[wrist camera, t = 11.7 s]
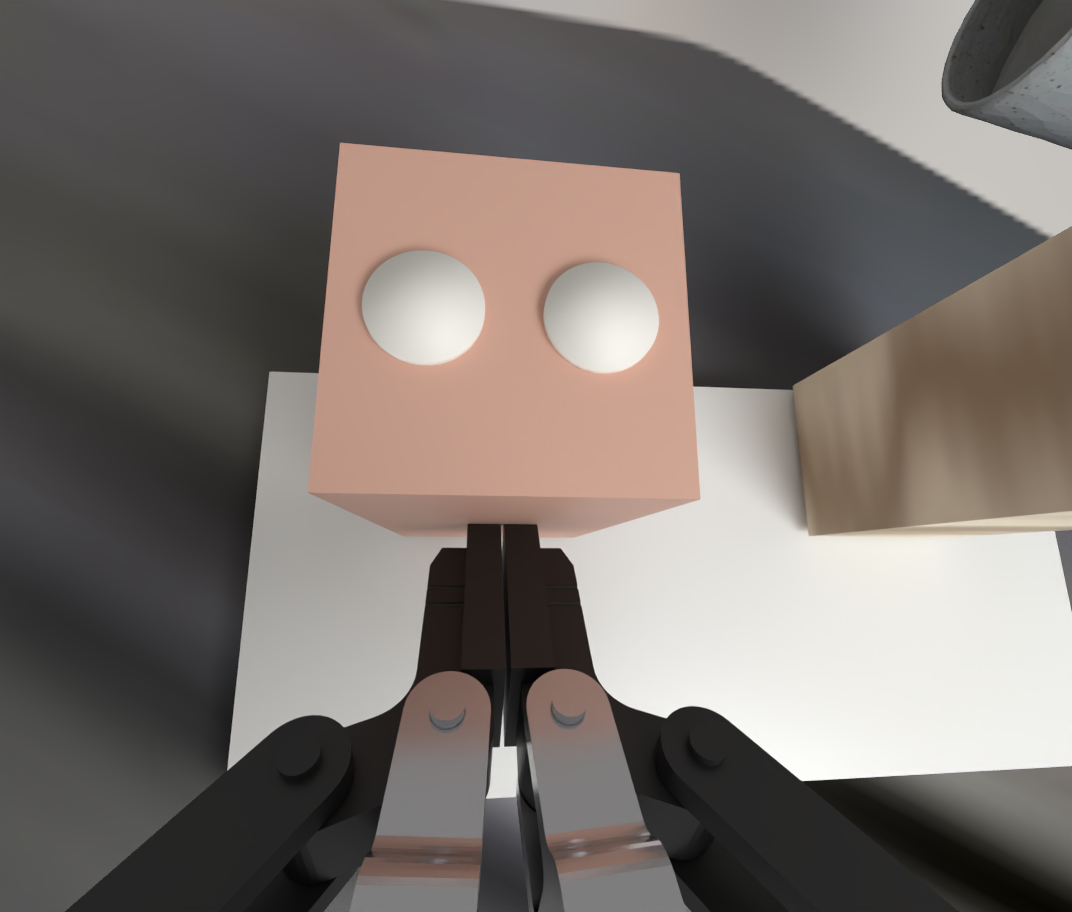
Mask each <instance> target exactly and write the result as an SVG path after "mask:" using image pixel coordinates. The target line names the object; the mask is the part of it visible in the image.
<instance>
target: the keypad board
mask: <svg viewBox="0 0 1072 912" xmlns="http://www.w3.org/2000/svg"><path fill="white" fill-rule="evenodd" d="M318 375H319V373H296V372H269V381H268V390H267V400H266V409H265V419H264V428H263V438H262V447H261V456H260V466H259V475H258V485H257V494H256V504H255V513H254V522H253V532H252V541H251V551H250V560H249V570H248V579H247V588H246V598H245V607H244V617H243V626H242V636H241V645H240V654H239V664H238V673H237V683H236V692H235V702H234V711H233V720H232V730H231V739H230V749H229V758H228V768H227V771H228V770H229V769H230V768H231V767H232V766H233V765H235V764H236V763H237V762H238V761H239V760H240V759H241V758H243V757H244V756H245V755H246V754H247V753H248V752H249V751H251V750H252V749H253V748H254V747H255V746H256V745H258V744H259V743H260V742H261V741H262V740H263V739H264V738H266V737H267V736H268V735H269V734H270V733H271V732H273V731H274V730H275V729H277V728H278V727H280V726H281V725H283V724H285V723H286V722H289V721H291V720H293V719H296V718H299V717H303V716H309V715H321V716H326V717H329V718H332V719H334V720H336V721H337V722H339V723H340V724H341V725H342V726H343V727H347V726H350V725H353V724H355V723H358V722H361V721H364V720H367V719H370V718H373V717H375V716H378V715H380V714H383V713H384V712H386V711H388V710H390V709H391V708H392V707H394V706H395V705H396V704H398V703H399V702H400V701H401V700H402V699H403V698H404V697H405V695H406V694H407V693H408V691H409V690H410V688H411V686H412V685H413V682H414V680H415V677H416V672H417V665H418V657H419V649H420V641H421V633H422V625H423V617H424V609H425V601H426V593H427V585H428V577H429V569H430V564H431V563H432V562H433V560H434V559H435V557H436V556H437V554H438V553H439V551H440V550H441V549H442V548H467V537H425V536H401V535H399V534H397V533H395V532H393V531H390V530H388V529H386V528H384V527H382V526H379V525H377V524H375V523H373V522H371V521H369V520H366V519H364V518H362V517H360V516H358V515H355V514H353V513H351V512H349V511H347V510H344V509H342V508H340V507H338V506H336V505H333V504H331V503H329V502H327V501H325V500H323V499H320V498H318V497H316V496H314V495H312V494H309V493H308V483H309V472H310V461H311V451H312V440H313V429H314V418H315V408H316V397H317V386H318ZM693 391H694V407H695V422H696V438H697V454H698V469H699V485H700V500H697V501H693V502H690V503H687V504H684V505H680V506H677V507H674V508H670V509H667V510H664V511H660V512H657V513H654V514H651V515H647V516H644V517H641V518H637V519H634V520H631V521H628V522H624V523H621V524H618V525H614V526H611V527H608V528H604V529H601V530H598V531H595V532H591V533H588V534H585V535H581V536H578V537H575V538H547V537H539V541H540V548H561V549H562V551H563V552H564V553H565V555H566V556H567V557H568V559H569V560H570V561H571V563H572V564H573V565H574V570H575V575H576V580H577V589H578V591H579V596H580V601H581V606H582V611H583V616H584V621H585V626H586V632H587V637H588V642H589V647H590V652H591V657H592V662H593V667H594V671H595V674H596V676H597V678H598V680H599V682H600V683H601V685H602V686H603V688H604V689H605V690H606V691H607V692H608V693H609V694H610V695H611V696H612V697H613V698H615V699H616V700H618V701H619V702H620V703H622V704H624V705H626V706H628V707H631V708H634V709H637V710H640V711H643V712H647V713H650V714H653V715H657V716H660V717H663V718H667V717H668V716H669V715H670V714H671V713H672V712H673V711H675V710H677V709H679V708H682V707H687V706H698V707H703V708H707V709H710V710H712V711H715V712H716V713H718V714H720V715H722V716H723V717H724V718H726V719H727V720H729V721H730V722H731V723H732V724H733V725H735V726H736V727H737V728H738V729H739V730H741V731H742V732H743V733H744V734H745V735H747V736H748V737H749V738H750V739H751V740H753V741H754V742H755V743H756V744H757V745H759V746H760V747H761V748H762V749H763V750H765V751H766V752H767V753H768V754H769V755H771V756H772V757H773V758H774V759H776V760H777V761H778V762H779V763H780V764H782V765H783V766H784V767H785V768H786V769H788V770H789V771H790V772H791V773H792V774H794V775H795V776H796V777H797V778H798V779H800V780H801V781H810V780H828V779H846V778H864V777H882V776H900V775H918V774H936V773H954V772H971V771H989V770H1007V769H1025V768H1043V767H1061V766H1072V612H1071V607H1070V602H1069V598H1068V593H1067V588H1066V583H1065V579H1064V574H1063V569H1062V564H1061V559H1060V555H1059V550H1058V545H1057V540H1056V536H1055V531H1044V532H1029V533H1013V534H998V535H982V536H967V537H846V536H809V534H808V525H807V515H806V506H805V496H804V487H803V478H802V468H801V459H800V449H799V440H798V430H797V421H796V411H795V402H794V393H793V390H776V389H747V388H719V387H693ZM501 540H502V541H503V537H501ZM517 776H518V768H517V747H516V746H513V747H504V724H503V714H502V726H501V738H500V747H493V750H492V764H491V779H490V787H489V791H488V794H487V797H486V798H504V797H516V785H517Z"/></svg>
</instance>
